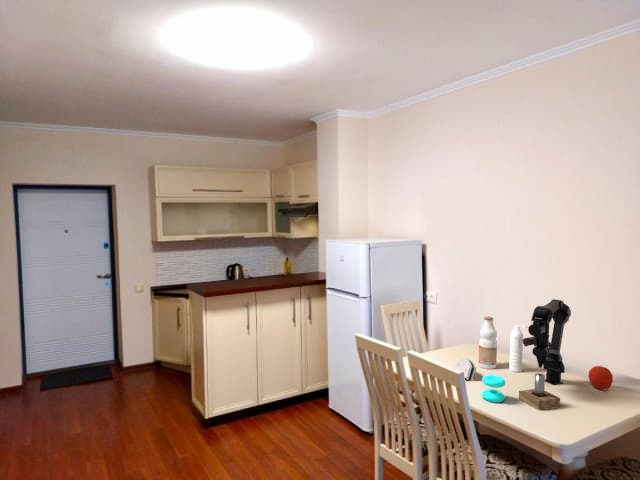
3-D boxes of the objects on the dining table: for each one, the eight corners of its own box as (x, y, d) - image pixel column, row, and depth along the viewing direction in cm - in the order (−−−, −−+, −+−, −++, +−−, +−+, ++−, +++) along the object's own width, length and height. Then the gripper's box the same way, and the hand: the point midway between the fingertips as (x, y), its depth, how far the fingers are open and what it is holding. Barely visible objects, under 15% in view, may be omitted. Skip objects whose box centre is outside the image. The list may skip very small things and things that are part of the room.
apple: (614, 388, 227) (615, 365, 226) (609, 393, 219) (610, 370, 219) (590, 382, 233) (591, 360, 233) (585, 388, 226) (586, 365, 225)
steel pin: (542, 401, 209) (543, 373, 209) (545, 405, 205) (546, 376, 205) (532, 401, 210) (533, 373, 209) (535, 404, 206) (536, 376, 205)
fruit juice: (484, 370, 252) (486, 319, 250) (475, 364, 261) (476, 315, 259) (499, 368, 254) (501, 319, 252) (489, 363, 263) (491, 315, 261)
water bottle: (511, 372, 248) (513, 326, 247) (507, 368, 255) (508, 324, 253) (528, 372, 248) (529, 327, 247) (523, 368, 254) (524, 324, 253)
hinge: (451, 370, 251) (458, 353, 251) (459, 372, 251) (465, 356, 251) (463, 381, 234) (470, 363, 234) (471, 384, 235) (478, 366, 234)
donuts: (482, 373, 218) (505, 375, 214) (481, 393, 218) (504, 396, 215) (482, 380, 208) (505, 383, 205) (481, 401, 209) (505, 404, 206)
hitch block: (539, 396, 215) (539, 388, 215) (560, 406, 204) (560, 398, 204) (518, 399, 212) (518, 390, 211) (538, 410, 200) (538, 401, 200)
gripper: (526, 327, 232) (525, 357, 233) (521, 334, 216) (520, 367, 217) (551, 330, 226) (550, 361, 227) (547, 338, 210) (546, 371, 211)
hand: (541, 365), depth 221 cm, fingers open, 9 cm apart
